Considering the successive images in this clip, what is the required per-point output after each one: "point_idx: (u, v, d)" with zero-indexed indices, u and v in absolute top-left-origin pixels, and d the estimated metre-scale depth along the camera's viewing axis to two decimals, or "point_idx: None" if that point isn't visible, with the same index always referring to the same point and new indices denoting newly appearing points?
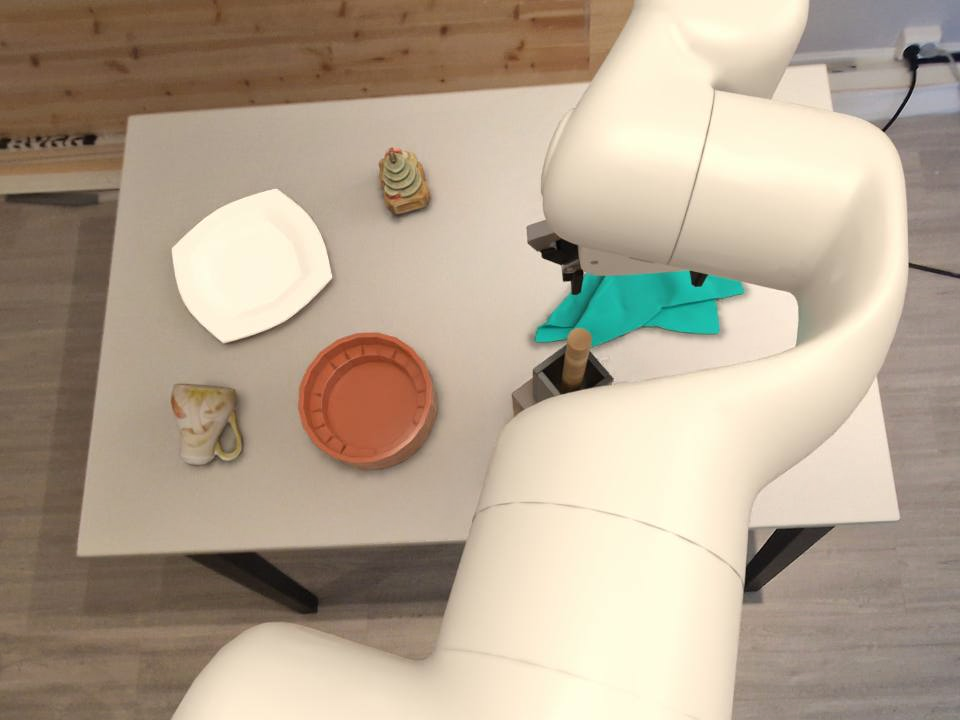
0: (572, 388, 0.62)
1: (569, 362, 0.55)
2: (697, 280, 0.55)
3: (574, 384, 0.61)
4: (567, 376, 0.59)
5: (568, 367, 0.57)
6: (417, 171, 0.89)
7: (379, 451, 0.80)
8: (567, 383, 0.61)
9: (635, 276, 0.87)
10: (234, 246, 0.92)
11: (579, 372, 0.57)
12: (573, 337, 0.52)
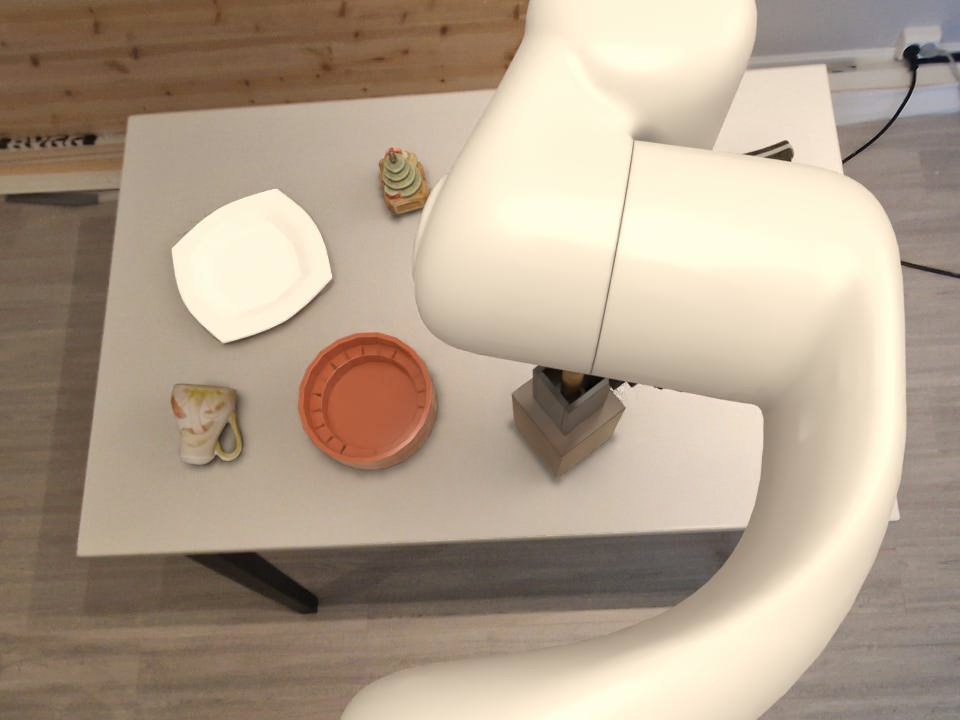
0: (572, 388, 0.62)
1: None
2: (610, 379, 0.47)
3: (574, 384, 0.61)
4: (567, 376, 0.59)
5: None
6: (417, 171, 0.89)
7: (379, 451, 0.80)
8: (567, 383, 0.61)
9: None
10: (234, 246, 0.92)
11: None
12: None
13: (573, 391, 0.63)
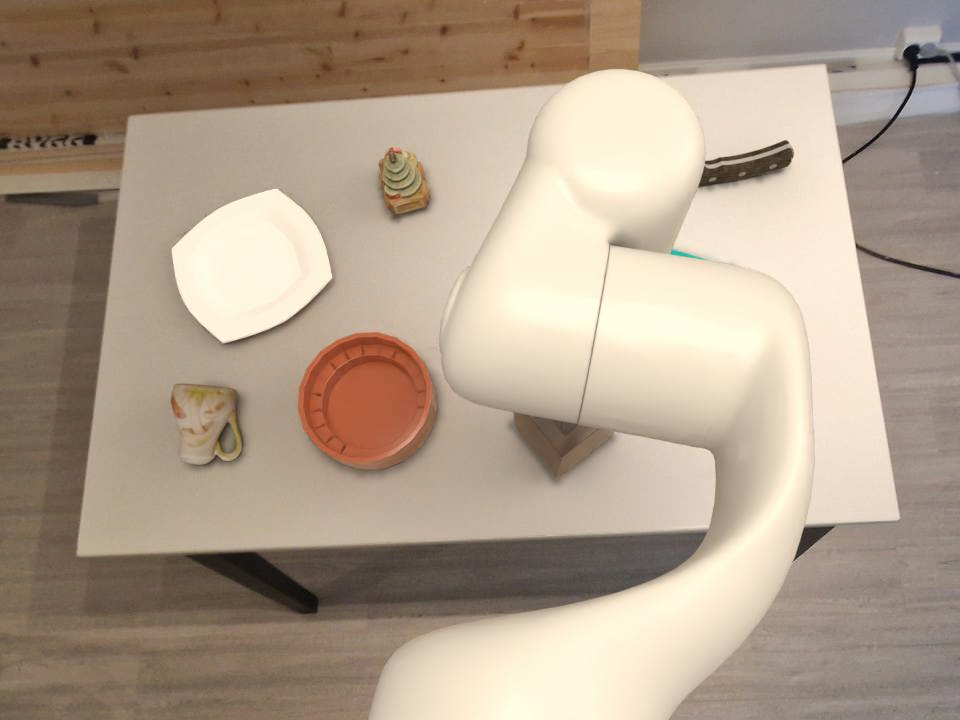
0: None
1: None
2: None
3: None
4: None
5: None
6: (417, 171, 0.89)
7: (379, 451, 0.80)
8: None
9: None
10: (234, 246, 0.92)
11: None
12: None
13: None
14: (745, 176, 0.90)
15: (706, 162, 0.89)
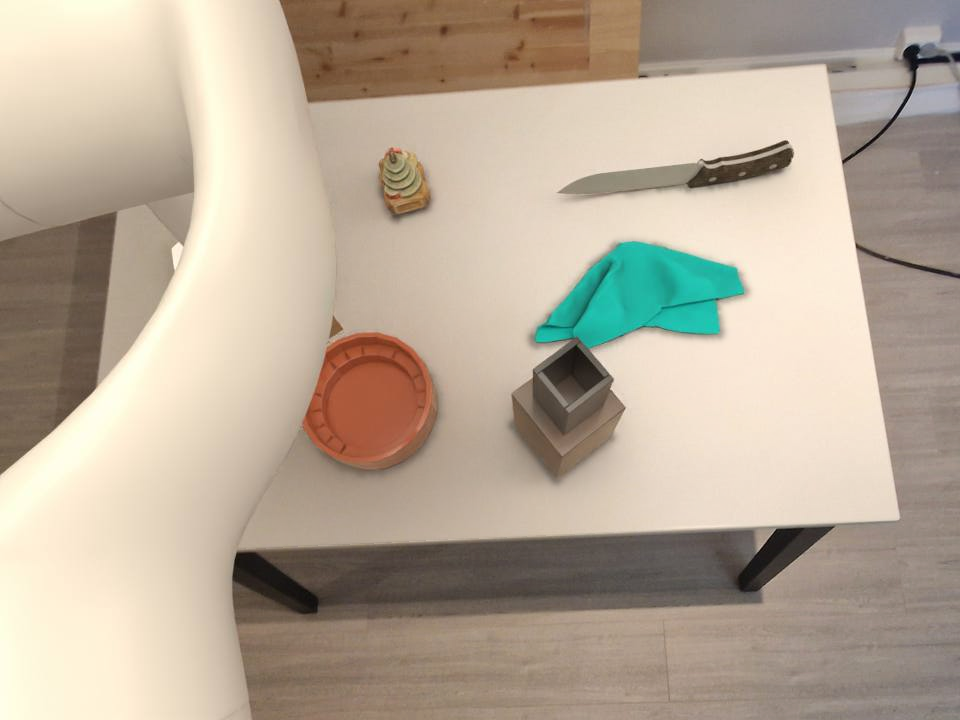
0: None
1: None
2: None
3: None
4: None
5: None
6: (417, 171, 0.89)
7: (379, 451, 0.80)
8: None
9: (635, 276, 0.87)
10: None
11: None
12: None
13: None
14: (745, 176, 0.90)
15: (706, 162, 0.89)
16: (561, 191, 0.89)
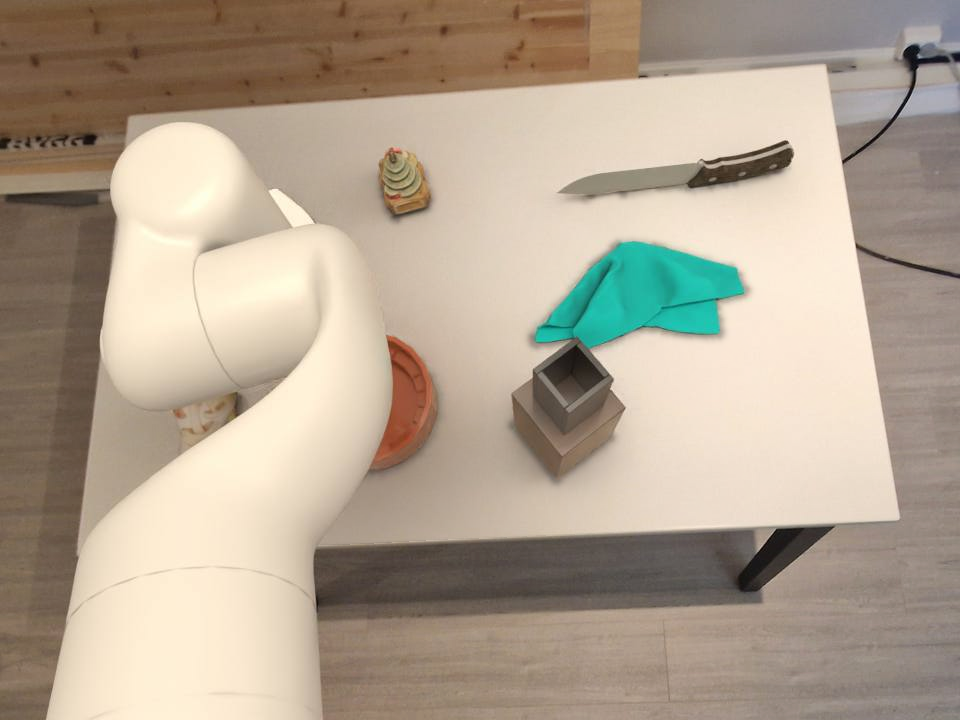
0: None
1: None
2: None
3: None
4: None
5: None
6: (417, 171, 0.89)
7: (379, 451, 0.80)
8: None
9: (635, 276, 0.87)
10: None
11: None
12: None
13: None
14: (745, 176, 0.90)
15: (706, 162, 0.89)
16: (561, 191, 0.89)
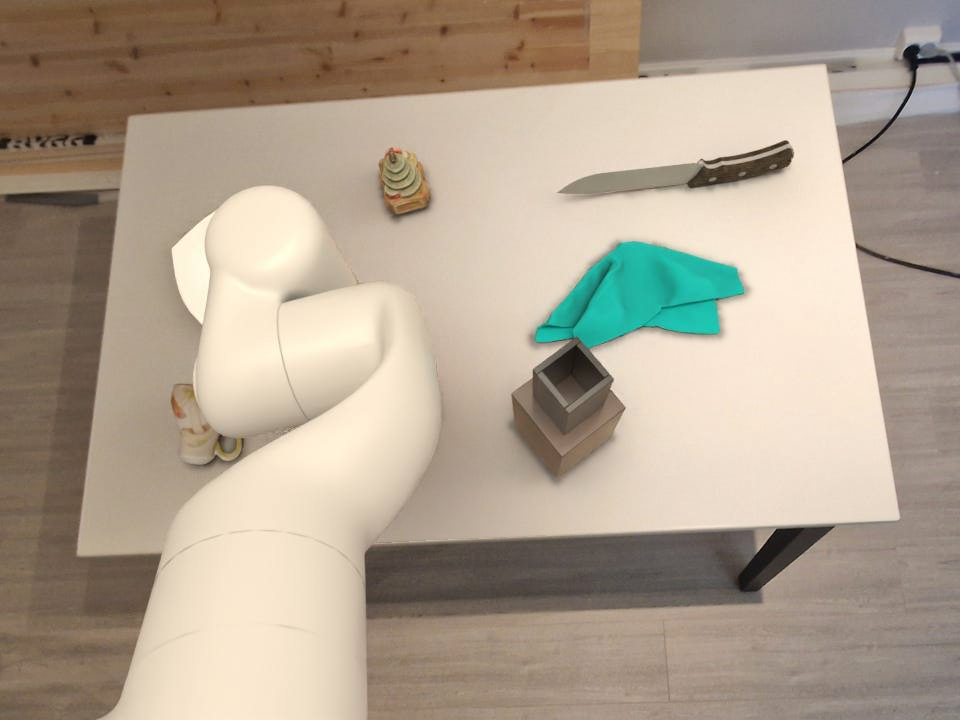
0: None
1: None
2: None
3: None
4: None
5: None
6: (417, 171, 0.89)
7: None
8: None
9: (635, 276, 0.87)
10: None
11: None
12: None
13: None
14: (745, 176, 0.90)
15: (706, 162, 0.89)
16: (561, 191, 0.89)
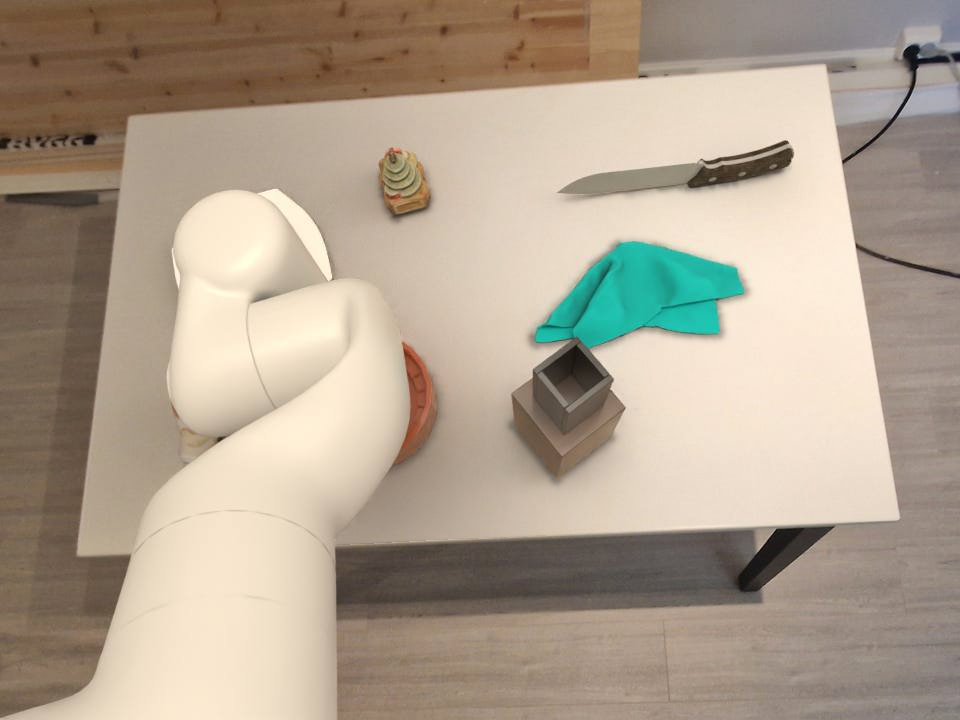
0: None
1: None
2: None
3: None
4: None
5: None
6: (417, 171, 0.89)
7: None
8: None
9: (635, 276, 0.87)
10: None
11: None
12: None
13: None
14: (745, 176, 0.90)
15: (706, 162, 0.89)
16: (561, 191, 0.89)
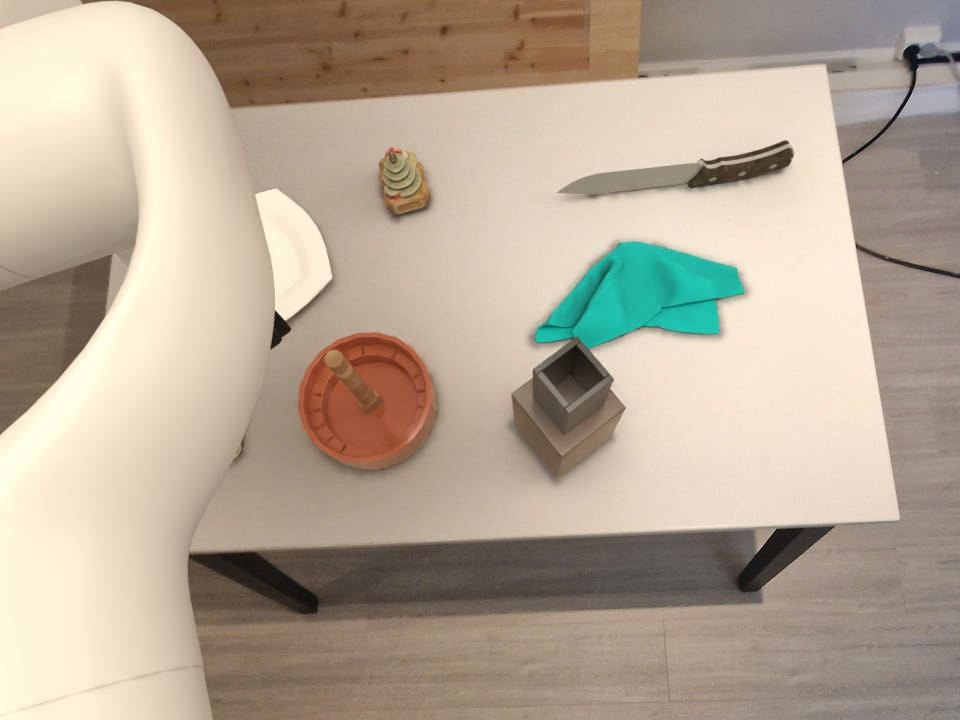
0: (358, 395, 0.77)
1: (336, 375, 0.71)
2: None
3: (356, 392, 0.76)
4: (346, 386, 0.74)
5: (340, 379, 0.72)
6: (417, 171, 0.89)
7: (379, 451, 0.80)
8: (351, 391, 0.76)
9: (635, 276, 0.87)
10: None
11: (350, 383, 0.73)
12: (328, 357, 0.68)
13: (361, 398, 0.78)
14: (745, 176, 0.90)
15: (706, 162, 0.89)
16: (561, 191, 0.89)
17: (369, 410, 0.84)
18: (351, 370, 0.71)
